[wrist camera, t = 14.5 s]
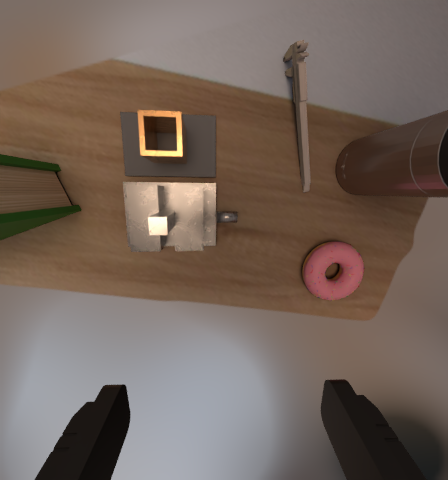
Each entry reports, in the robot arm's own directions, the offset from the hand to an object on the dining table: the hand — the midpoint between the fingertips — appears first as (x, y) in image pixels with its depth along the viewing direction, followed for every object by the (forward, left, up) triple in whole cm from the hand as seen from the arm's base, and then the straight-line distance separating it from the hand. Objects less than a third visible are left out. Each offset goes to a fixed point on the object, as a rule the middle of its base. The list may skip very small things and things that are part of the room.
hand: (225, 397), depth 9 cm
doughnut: (-22, +6, -31) cm, 39 cm away
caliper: (-14, -18, -31) cm, 39 cm away
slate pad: (+6, -15, -31) cm, 35 cm away
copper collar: (+6, -15, -30) cm, 34 cm away
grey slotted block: (+4, -4, -31) cm, 31 cm away
